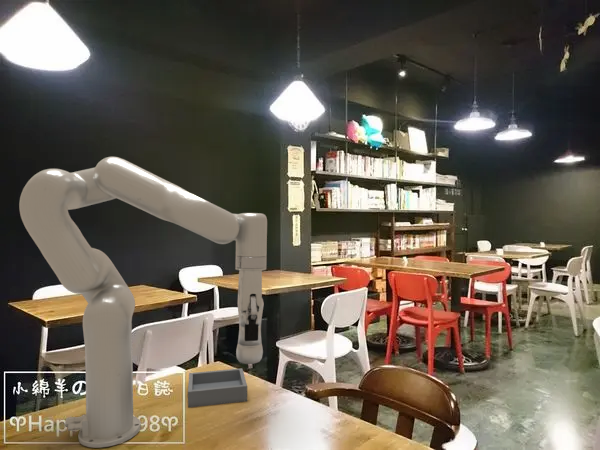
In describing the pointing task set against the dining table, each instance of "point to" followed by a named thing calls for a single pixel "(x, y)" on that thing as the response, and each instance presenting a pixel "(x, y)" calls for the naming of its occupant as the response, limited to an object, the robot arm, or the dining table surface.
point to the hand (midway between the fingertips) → (249, 336)
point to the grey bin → (216, 387)
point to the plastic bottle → (249, 349)
